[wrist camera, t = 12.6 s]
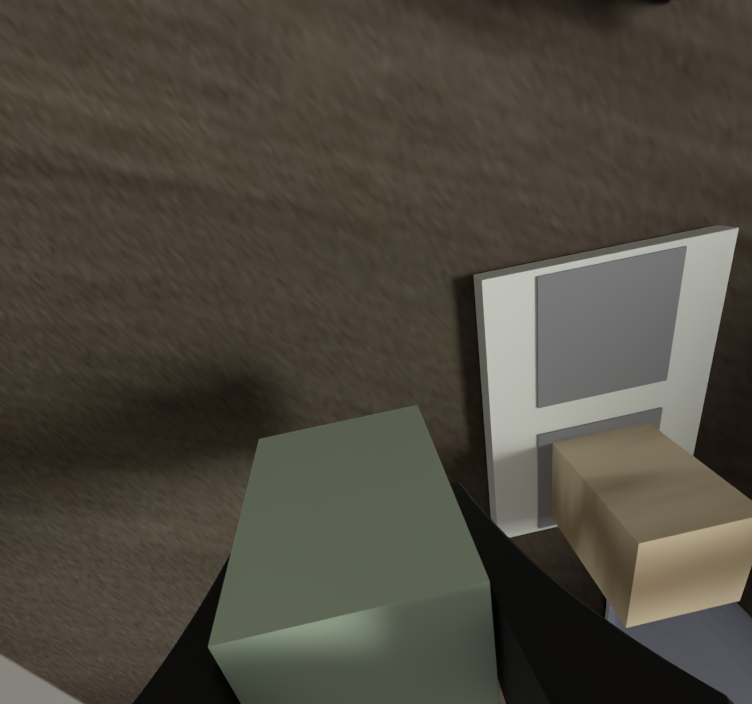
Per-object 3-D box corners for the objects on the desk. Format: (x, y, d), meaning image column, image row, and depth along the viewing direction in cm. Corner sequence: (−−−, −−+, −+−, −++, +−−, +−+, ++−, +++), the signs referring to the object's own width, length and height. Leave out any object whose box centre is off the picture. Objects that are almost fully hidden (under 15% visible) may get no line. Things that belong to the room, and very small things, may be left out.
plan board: (671, 484, 24) (686, 498, 23) (491, 526, 23) (498, 541, 22) (717, 225, 18) (740, 228, 17) (473, 274, 17) (482, 280, 16)
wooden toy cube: (637, 496, 22) (739, 600, 17) (550, 515, 22) (625, 627, 17) (648, 422, 20) (768, 513, 15) (552, 443, 20) (639, 543, 14)
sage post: (435, 520, 15) (501, 725, 9) (299, 550, 14) (285, 779, 9) (417, 404, 13) (489, 581, 7) (258, 438, 12) (207, 646, 7)
